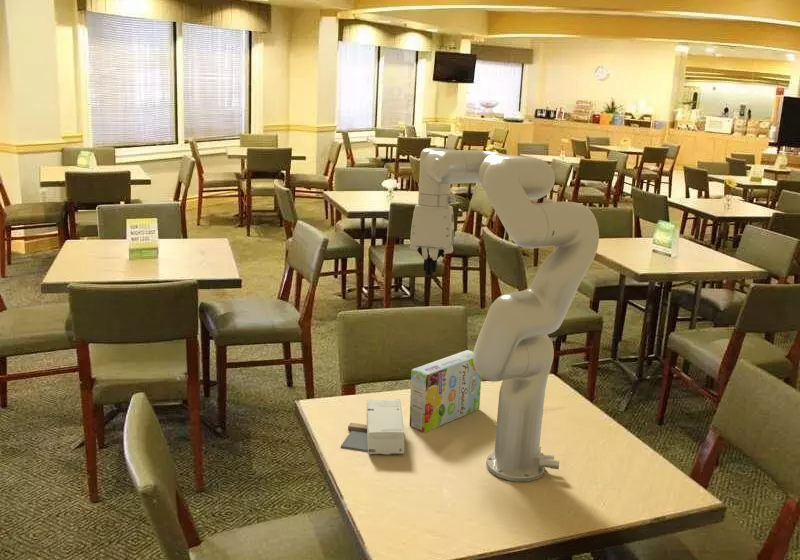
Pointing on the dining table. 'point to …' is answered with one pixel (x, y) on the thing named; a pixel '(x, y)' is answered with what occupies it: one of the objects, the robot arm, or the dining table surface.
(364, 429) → the rail
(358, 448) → the mat
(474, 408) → the snack box
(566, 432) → the dining table surface
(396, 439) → the skincare box
